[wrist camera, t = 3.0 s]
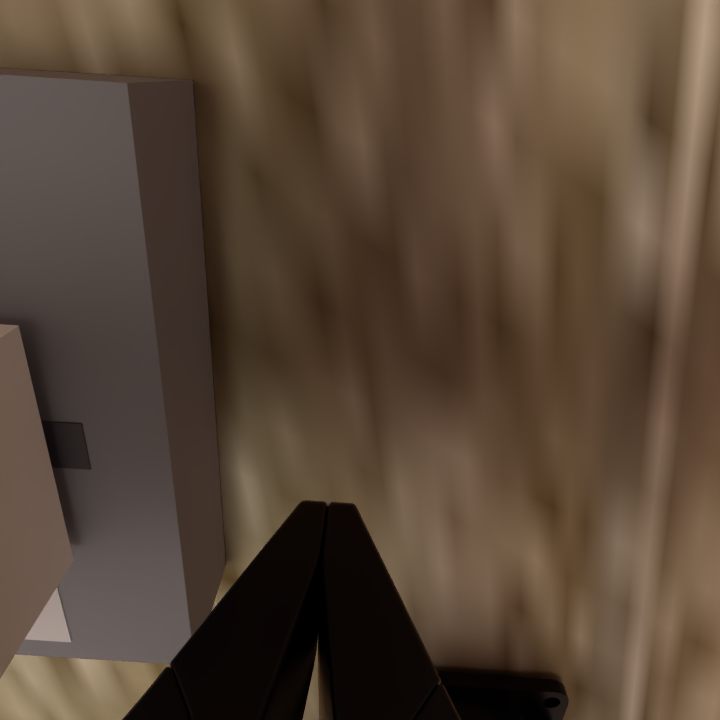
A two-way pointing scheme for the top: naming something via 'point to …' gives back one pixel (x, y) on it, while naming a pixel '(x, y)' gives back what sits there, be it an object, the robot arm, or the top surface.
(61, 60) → the top surface
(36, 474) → the fader
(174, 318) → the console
